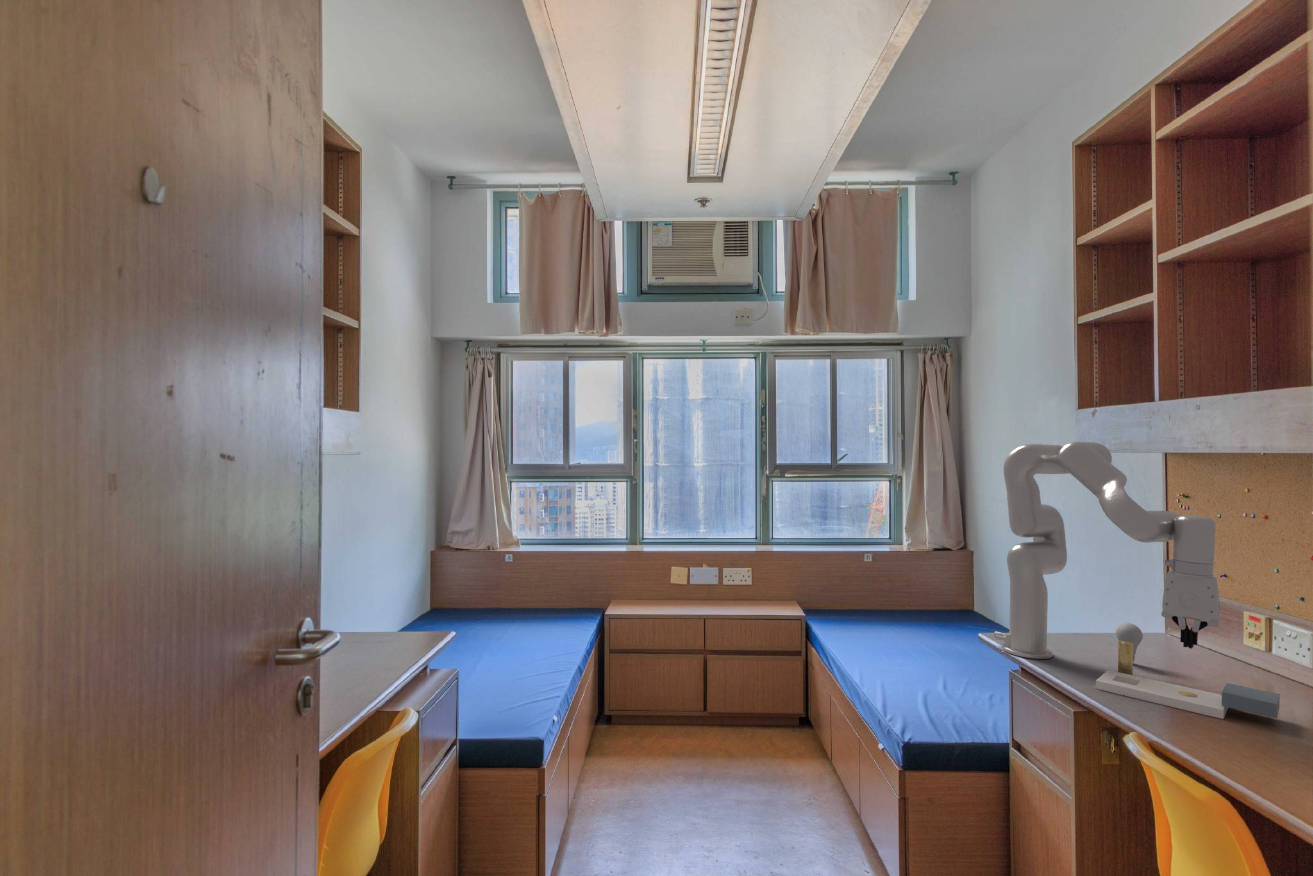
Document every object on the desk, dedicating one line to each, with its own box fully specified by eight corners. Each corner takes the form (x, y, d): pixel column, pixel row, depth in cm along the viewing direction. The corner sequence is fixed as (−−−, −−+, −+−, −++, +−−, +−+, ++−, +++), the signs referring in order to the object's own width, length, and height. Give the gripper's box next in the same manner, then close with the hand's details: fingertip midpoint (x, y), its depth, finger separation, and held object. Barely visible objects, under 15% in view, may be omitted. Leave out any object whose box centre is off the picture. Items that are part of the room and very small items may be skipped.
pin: (1116, 677, 173) (1117, 642, 173) (1119, 674, 176) (1119, 639, 176) (1131, 680, 171) (1131, 645, 171) (1133, 677, 173) (1134, 642, 173)
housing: (1221, 705, 149) (1221, 692, 149) (1226, 695, 155) (1226, 682, 155) (1276, 718, 142) (1277, 704, 142) (1279, 707, 148) (1279, 694, 148)
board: (1095, 688, 164) (1096, 680, 164) (1107, 677, 173) (1107, 669, 173) (1223, 719, 147) (1223, 709, 147) (1229, 705, 156) (1229, 696, 156)
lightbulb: (1116, 664, 184) (1117, 624, 184) (1113, 658, 189) (1114, 619, 189) (1144, 668, 181) (1144, 627, 181) (1140, 662, 186) (1140, 622, 187)
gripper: (1150, 565, 159) (1146, 641, 159) (1232, 576, 148) (1228, 659, 149) (1156, 561, 164) (1152, 635, 165) (1236, 572, 154) (1232, 651, 154)
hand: (1188, 646), depth 157 cm, fingers closed
